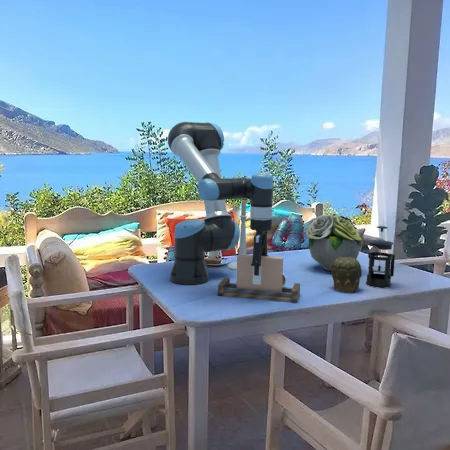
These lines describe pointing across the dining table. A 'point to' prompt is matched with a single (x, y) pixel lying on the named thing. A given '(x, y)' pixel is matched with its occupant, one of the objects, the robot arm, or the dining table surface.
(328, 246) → the flower arrangement
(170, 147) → the robot arm
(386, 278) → the french press
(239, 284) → the door panel
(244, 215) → the candlestick
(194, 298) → the dining table surface
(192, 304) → the dining table surface
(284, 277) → the drinking glass
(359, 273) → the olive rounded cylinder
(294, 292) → the brown wooden rack
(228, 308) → the dining table surface
